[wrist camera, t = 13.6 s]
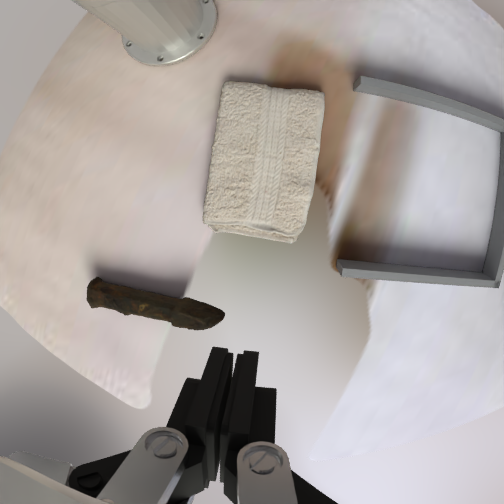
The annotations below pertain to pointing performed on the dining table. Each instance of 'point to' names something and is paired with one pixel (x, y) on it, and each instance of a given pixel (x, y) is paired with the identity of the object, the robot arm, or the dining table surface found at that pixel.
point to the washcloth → (263, 161)
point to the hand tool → (153, 305)
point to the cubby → (500, 245)
